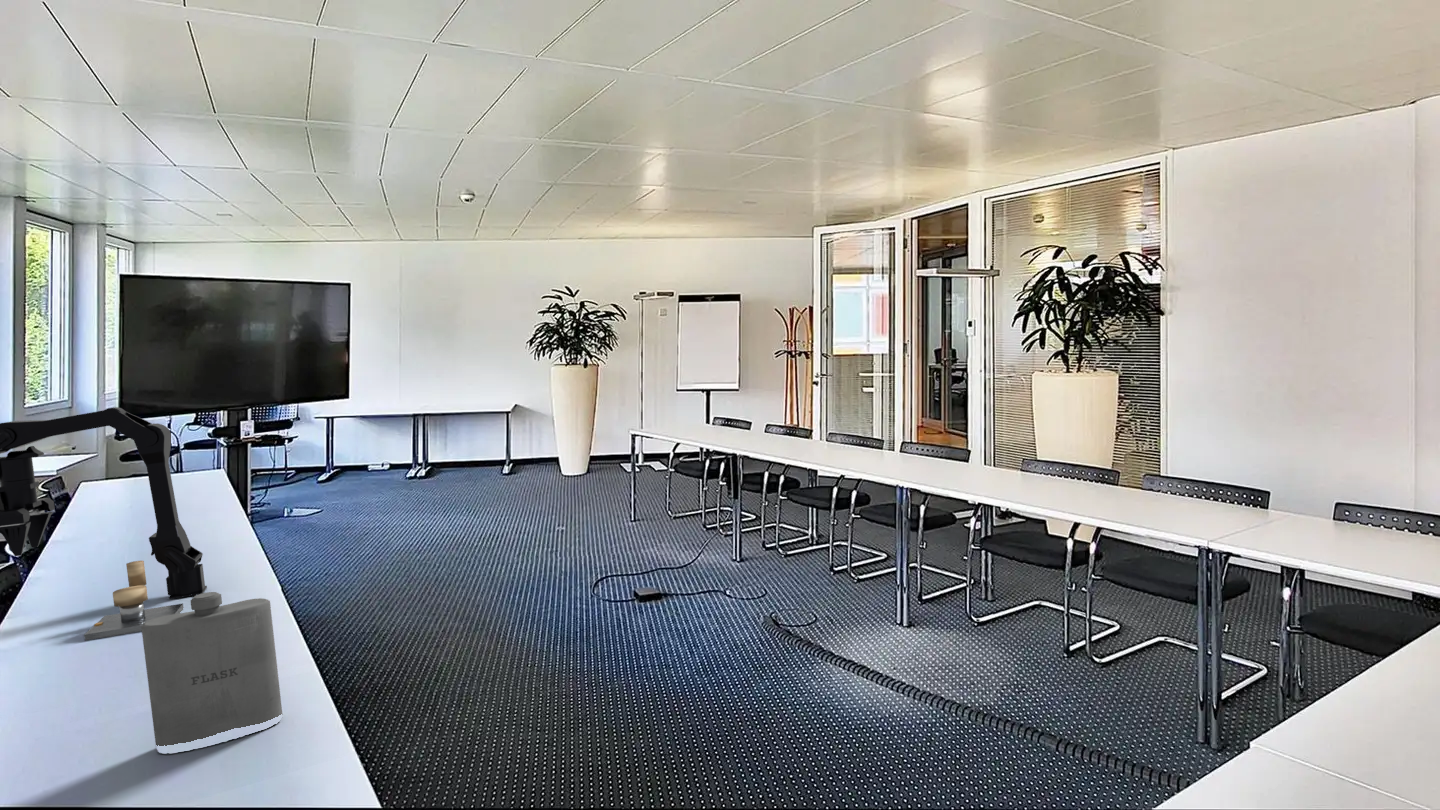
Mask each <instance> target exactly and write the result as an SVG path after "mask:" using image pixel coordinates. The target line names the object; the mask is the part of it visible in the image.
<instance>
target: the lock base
mask: <svg viewBox="0 0 1440 810" xmlns="http://www.w3.org/2000/svg"><path fill="white" fill-rule="evenodd" d="M183 608H185V607H184V603H177V604H172V605H170V604H169V605H165V606H158V607H153V608H152V607H151V608H145V605H144V602H141V603H138V604H134V605H129V606H121V607H119V613H114V614H108V615H107V614H106V615H103V616H102V618H101V619H99V620H98V621H97V622H95V623H94V624H93V626H92V627H91V628H90V629H88V631H87V632H85V633H84V635H83V637H84V642H85V641H90V640H91V641H92V640H97V639H103V638H111V637H115V636H121V635H127V634H135V633H139V632H142V629H141V626H142V625H143V624H144V623H146V622H147V621H150V620H152V619H155V618H158V617H162V616H167V615H173V614H179V613H180V612H181V611H182V612H183V611H184V609H183ZM182 612H181V613H182Z"/></svg>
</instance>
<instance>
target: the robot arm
mask: <svg viewBox="0 0 1440 810" xmlns="http://www.w3.org/2000/svg"><path fill="white" fill-rule="evenodd" d="M102 427H111V428H113V429H114V430H116V431H118V433H120V434H122V435H123V436H124V437H127V438H128V439H131V440H133V442H134V445H135V447H136V450H137V452H138V455H139V456H140V458H141V460H142V462H143V463H144V465H145V467H146V471H147V477H148V482H149V487H150V493H151V499H152V504H153V509H154V516H155V520H156V532H154V533H153V534H152V535H150V536H149V537H148V542H149V544H150V546H151V554H150V555H151V556H152V557H153V556H154V558H155V560H156V561H157V563H159V564H161V565H163V566H165V568H166V570H167V573H168V576H167V577H166V578H165V581H166V590H167V595H168V598H169V600H173V599H174V600H176V599H181V598H186V597H194V596H196V595H199V594H202V593H205V591H206V590H207V589H208V586H207V585H206V582H205V576H204V575H205V574H204V565H203V563H201V561H202V560H203V559H202V558H203V555H204V554H203V552H201V551H200V550H198V549H197V548H195V547H194V546H192V545H191V543H190V539H189V537H188V534H187V533H186V530H185V529H184V527H183V525H182V524H181V523H180V518H179V515H178V508H177V503H176V498H175V493H174V485H173V479H172V475H171V468H170V463H169V462H170V461H169V460H170V455H171V454H170V453H171V448H172V447H171V445H172V441H171V440H172V439H171V438H172V434H171V431H170V429H169V427H167V426H166V425H164V424H161V423H152V422H150V421H148V420H146V419H143V418H141V417H139V416H137V415H134V414H132V413H130V412H128V411H126V410H125V409H123V408H122V407H118V406H115V407H109V408H106V409H103V410H96V411H93V412H92V411H91V412H87V413H79V414H74V415H71V416H63V417H59V418H58V417H57V418H52V419H42V420H41V419H40V420H37V419H36V420H35V419H33V420H13V421H7V422H6V421H5V422H0V454H5V453H7V454H6V456H0V534H1V535H2V536H3V537H4V540H5V541H6V544H7V545H8V547H9V548H10V550H11V552H12V554H13V556H14V557H21V556H22V555H23V552H24V549H25V546H26V545H25V544H26V541H27V538H28V541H29V543H30V546H31V547H32V548H38V547H39V545H40V543H41V540H42V538H43V535H44V533H45V530H46V527H47V525H48V523H49V521H50V518H51V516H52V515H53V511H54V510H55V508H56V507H55V502H54V501H55V500H53V499H51V498H50V497H43V498H38V495H37V494H38V493H37V487H40V481H36V478H35V471H34V464H33V458H39V457H42V456H44V455H45V452H43V451H41V450H40V449H37V448H36V447H35V446H33V445H30V444H33V443H37V442H40V441H42V440H45V439H48V438H51V437H54V436H60V435H66V434H71V433H77V432H82V431H88V430H93V429H98V428H102ZM28 445H30V446H28ZM25 446H28V447H27V448H26V449H23V450H14V451H13V449H17V448H21V447H25ZM11 450H12V451H11ZM46 511H47V512H46Z"/></svg>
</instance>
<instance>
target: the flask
mask: <svg viewBox="0 0 1440 810" xmlns="http://www.w3.org/2000/svg"><path fill="white" fill-rule="evenodd" d="M222 599H223V598H222V594H221V593H219V592H217V591H209V592H204V593H202V594H199V595H194V596H192V598H191V599H190V608H191V610H192V611H187V612H181V613H179V614H173V615H167V616H162V617H158V618H155V619H152V620H150V621H147V622H146V623H144V624H143V625H142V626H141V629H142V631H141V635H142V644H143V652H144V658H145V659H144V660H145V668H146V674H147V675H146V676H147V677H146V678H147V683H148V692H149V700H150V709H151V716H152V717H151V718H152V726H153V733H154V742H155V746H156V745H157V746H158V745H159V746H164V745H165V746H167V745H174V744H178V743H186V742H191V741H194V740H197V739H203V738H206V737H209V736H213V735H216V734H217V733H221V732H225V731H228V730H231V729H234V728H241V727H246V726H250V725H255V724H260V723H263V722H266V721H268V720H271V719H273V718H275V717H278V716H279V715H281V714H282V715H283V709H282V708H283V706H282V698H281V697H282V696H281V691H280V690H281V688H280V680H279V679H280V678H279V673H278V672H279V671H278V663H277V660H278V659H277V652H276V644H275V634H274V625H273V617H272V609H271V608H272V607H271V606H272V605H271V600H269V599H266V598H262V597H260V598H251V599H245V600H241V601H236V602H232V603H228V604H224V605H223V604H222V603H223V600H222Z"/></svg>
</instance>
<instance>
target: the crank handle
mask: <svg viewBox="0 0 1440 810" xmlns="http://www.w3.org/2000/svg"><path fill="white" fill-rule="evenodd" d="M145 567H146V566H145V561H144V560H135V561H130V562H127V563H126V574H127V582H128V586H127V587H123V588H120V589H116V590H114V591H112V598H113V599H112V600H113V606H114V607H121V606H129V605H134V604H138V603H141V602H143V603H144V602H145V601H146V602H147V601H148V600H149V596H148V589H147V576H146V571H145V569H146V568H145Z"/></svg>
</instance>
